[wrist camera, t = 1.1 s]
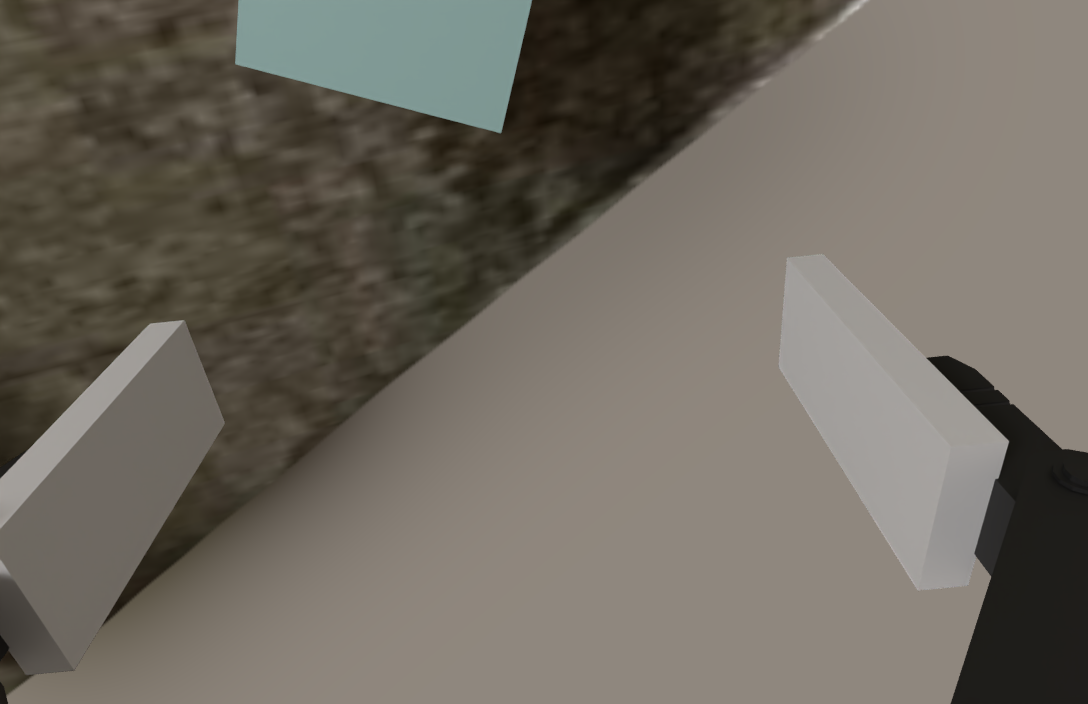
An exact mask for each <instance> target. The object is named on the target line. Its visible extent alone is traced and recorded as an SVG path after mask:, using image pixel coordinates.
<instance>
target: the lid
mask: <svg viewBox="0 0 1088 704" xmlns="http://www.w3.org/2000/svg"><path fill="white" fill-rule="evenodd" d="M531 3H532V0H239V5H238V24H237V42H236V61H235V64H237V65H241V66H245V67H248V68H252V69H256V70H260V71H264V72H268V73H271V74H275V75H279V76H283V77H287V78H291V79H295V80H298V81H302V82H306V83H310V84H314V85H318V86H321V87H325V88H329V89H333V90H337V91H341V92H344V93H348V94H352V95H356V96H360V97H364V98H368V99H371V100H375V101H379V102H383V103H387V104H391V105H394V106H398V107H402V108H406V109H410V110H414V111H417V112H421V113H425V114H429V115H433V116H437V117H441V118H444V119H448V120H452V121H456V122H460V123H464V124H467V125H471V126H475V127H479V128H483V129H487V130H490V131H494V132H498V133H501V132H502V128H503V123H504V119H505V115H506V110H507V106H508V102H509V97H510V93H511V89H512V85H513V80H514V76H515V72H516V67H517V63H518V59H519V54H520V50H521V46H522V42H523V37H524V33H525V29H526V24H527V20H528V16H529V11H530V7H531Z"/></svg>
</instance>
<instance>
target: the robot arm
mask: <svg viewBox="0 0 1088 704" xmlns="http://www.w3.org/2000/svg"><path fill="white" fill-rule="evenodd" d="M784 291H785V292H784V303H783V304H784V305H783V316H782V329H781V342H780V355H779V369H780V370H781V372H782V373H783V375H784V377H785V378H786V380H787V382H788V383H789V385H790V386H791V388H792V390H793V391H794V393H795V394H796V396H797V398H798V399H799V401H800V402H801V404H802V406H803V407H804V409H805V411H806V412H807V414H808V415H809V417H810V418H811V420H812V422H813V423H814V425H815V427H816V428H817V430H818V431H819V433H820V435H821V436H822V438H823V439H824V441H825V443H826V444H827V446H828V447H829V449H830V451H831V452H832V454H833V455H834V457H835V459H836V460H837V462H838V463H839V465H840V467H841V468H842V470H843V472H844V473H845V475H846V476H847V478H848V480H849V481H850V483H851V484H852V486H853V487H854V489H855V491H856V492H857V494H858V496H859V497H860V499H861V500H862V502H863V503H864V505H865V507H866V508H867V510H868V511H869V513H870V515H871V517H872V518H873V520H874V521H875V523H876V524H877V526H878V527H879V529H880V531H881V533H882V534H883V536H884V537H885V539H886V540H887V542H888V544H889V545H890V547H891V549H892V550H893V552H894V553H895V555H896V557H897V558H898V560H899V561H900V563H901V565H902V566H903V568H904V569H905V571H906V573H907V574H908V576H909V577H910V579H911V581H912V582H913V584H914V586H915V587H916V589H917V590H928V589H939V588H949V587H960V586H968V584H969V580H970V577H971V573H972V570H973V566H974V563H975V559H976V557H977V558H978V559H979V560H980V562H981V563H982V565H983V566H984V567H985V569H986V570H987V571H988V573H989V574H990V575H991V580H990V583H989V586H988V589H987V592H986V595H985V598H984V601H983V605H982V608H981V611H980V614H979V617H978V620H977V623H976V626H975V630H974V633H973V636H972V639H971V642H970V645H969V648H968V651H967V655H966V658H965V661H964V664H963V667H962V670H961V673H960V676H959V680H958V683H957V686H956V689H955V692H954V696H953V699H952V702H951V704H1088V453H1086V452H1080V451H1075V450H1069V449H1064V450H1062V449H1061V448H1060V447H1059V446H1058V445H1057V444H1056V443H1055V442H1053V440H1051V439H1050V438H1049V437H1048V436H1047V435H1046V434H1045V433H1044V432H1043V431H1042V430H1041V429H1040V428H1039V427H1037V426H1036V425H1035V424H1034V423H1033V422H1032V421H1031V420H1030V419H1029V418H1028V417H1027V416H1026V415H1024V414H1023V413H1022V412H1021V411H1020V410H1019V409H1018V408H1017V407H1016V406H1015V405H1013V404H1011V405H1010V403H1009V400H1008V399H1007V398H1006V397H1005V396H1004V395H1003V394H1002V393H1001V392H1000V391H998V390H994V386H993V385H992V384H991V383H990V382H989V381H988V380H986V379H985V378H984V377H983V376H982V375H981V374H980V373H979V372H978V371H977V370H975V369H974V368H972V367H970V366H968V365H966V364H963V363H962V362H960V361H958V360H956V359H953V358H952V357H949V356H939V357H931V358H930V357H929V358H926V357H925V356H924V355H923V354H922V353H921V352H920V351H919V350H918V349H917V348H916V347H915V346H914V345H913V344H912V343H911V342H910V341H909V340H908V339H907V338H906V337H905V336H904V335H903V334H902V333H901V332H900V331H899V330H898V329H897V328H896V327H895V326H894V325H893V324H892V323H891V322H890V321H889V320H888V319H887V318H886V317H885V316H884V315H883V314H882V313H881V312H880V311H879V310H878V309H877V308H876V307H875V306H874V305H873V304H872V303H871V302H870V301H869V300H868V299H867V298H866V297H865V296H864V295H863V294H862V293H861V292H860V291H859V290H858V289H857V288H856V287H855V286H854V285H853V284H852V283H851V282H850V281H849V280H848V279H847V278H846V277H845V276H844V275H843V274H842V273H841V272H840V271H839V270H838V269H837V268H836V267H835V266H834V265H833V264H832V263H831V262H830V261H829V260H828V259H827V258H826V257H825V256H824V255H823V254H818V255H808V256H799V257H789V258H787V265H786V278H785V290H784ZM224 424H225V422H224V420H223V417H222V414H221V412H220V409H219V407H218V404H217V402H216V399H215V397H214V394H213V392H212V389H211V387H210V384H209V381H208V379H207V376H206V374H205V371H204V369H203V366H202V364H201V361H200V359H199V356H198V354H197V351H196V348H195V346H194V343H193V341H192V338H191V336H190V333H189V331H188V328H187V326H186V323H185V321H184V320H182V321H173V322H163V323H153V324H149V325H148V326H147V327H146V328H145V329H144V330H143V331H142V332H141V334H140V335H139V336H138V337H137V338H136V339H135V340H134V341H133V342H132V343H131V344H130V345H129V346H128V347H127V348H126V349H125V350H124V351H123V352H122V353H121V354H120V355H119V356H118V357H117V358H116V359H115V360H114V361H113V363H112V364H111V365H110V366H109V367H108V368H107V369H106V370H105V371H104V372H103V373H102V374H101V375H100V376H99V377H98V378H97V379H96V380H95V381H94V382H93V383H92V384H91V385H90V386H89V387H88V388H87V389H86V390H85V391H84V393H83V394H82V395H81V396H80V397H79V398H78V399H77V400H76V401H75V402H74V403H73V404H72V405H71V406H70V407H69V408H68V409H67V410H66V411H65V412H64V413H63V414H62V415H61V416H60V417H59V418H58V419H57V420H56V422H55V423H54V424H53V425H52V426H51V427H50V428H49V429H48V430H47V431H46V432H45V433H44V434H43V435H42V436H41V437H40V438H39V439H38V440H37V441H36V442H35V443H34V444H33V445H32V446H31V447H30V448H29V449H28V450H26V451H24V452H23V453H21V454H20V455H18V456H17V457H15V458H14V459H12V460H11V461H9V462H8V463H6V464H5V465H3V466H2V467H0V661H1V659H2V658H3V657H4V655H5V654H6V652H7V651H8V650H9V652H10V653H11V655H12V656H13V657H14V659H15V660H16V662H17V663H18V664H19V666H20V667H21V669H22V670H23V671H24V673H25V674H26V675H33V674H43V673H53V672H64V671H73V670H75V669H76V667H77V665H78V663H79V662H80V660H81V659H82V657H83V655H84V654H85V652H86V650H87V649H88V647H89V646H90V644H91V642H92V641H93V639H94V637H95V636H96V634H97V632H98V631H99V629H100V628H101V626H102V624H103V623H104V621H105V619H106V618H107V616H108V614H109V613H110V611H111V609H112V608H113V606H114V605H115V603H116V601H117V600H118V598H119V596H120V595H121V593H122V591H123V590H124V588H125V586H126V585H127V583H128V582H129V580H130V578H131V577H132V575H133V573H134V572H135V570H136V568H137V567H138V565H139V563H140V562H141V560H142V558H143V557H144V555H145V554H146V552H147V550H148V549H149V547H150V545H151V544H152V542H153V540H154V539H155V537H156V535H157V534H158V532H159V531H160V529H161V527H162V526H163V524H164V522H165V521H166V519H167V517H168V516H169V514H170V512H171V511H172V509H173V508H174V506H175V504H176V503H177V501H178V499H179V498H180V496H181V494H182V493H183V491H184V489H185V488H186V486H187V485H188V483H189V481H190V480H191V478H192V476H193V475H194V473H195V471H196V470H197V468H198V466H199V465H200V463H201V461H202V460H203V458H204V457H205V455H206V453H207V452H208V450H209V448H210V447H211V445H212V443H213V442H214V440H215V438H216V437H217V435H218V434H219V432H220V430H221V429H222V427H223V425H224ZM0 704H8V702H7V698H6V694H5V690H4V686H3V685H2V684H1V682H0Z"/></svg>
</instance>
